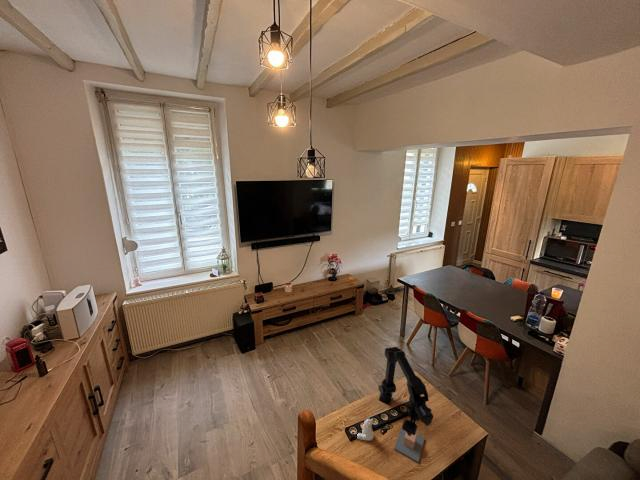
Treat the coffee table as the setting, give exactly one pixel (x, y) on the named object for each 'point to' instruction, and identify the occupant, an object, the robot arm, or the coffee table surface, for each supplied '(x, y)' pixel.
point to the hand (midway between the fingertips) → (411, 428)
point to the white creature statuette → (366, 431)
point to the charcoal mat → (406, 450)
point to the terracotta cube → (410, 440)
